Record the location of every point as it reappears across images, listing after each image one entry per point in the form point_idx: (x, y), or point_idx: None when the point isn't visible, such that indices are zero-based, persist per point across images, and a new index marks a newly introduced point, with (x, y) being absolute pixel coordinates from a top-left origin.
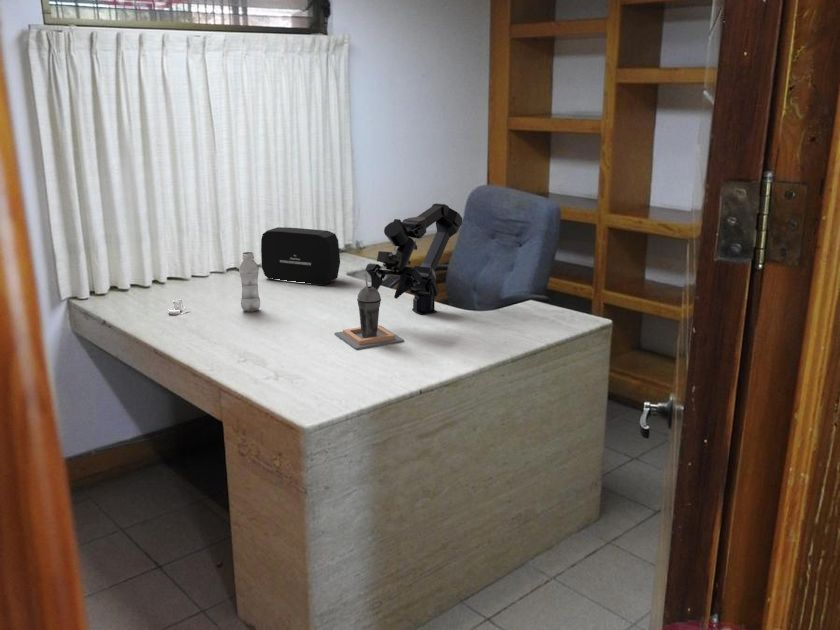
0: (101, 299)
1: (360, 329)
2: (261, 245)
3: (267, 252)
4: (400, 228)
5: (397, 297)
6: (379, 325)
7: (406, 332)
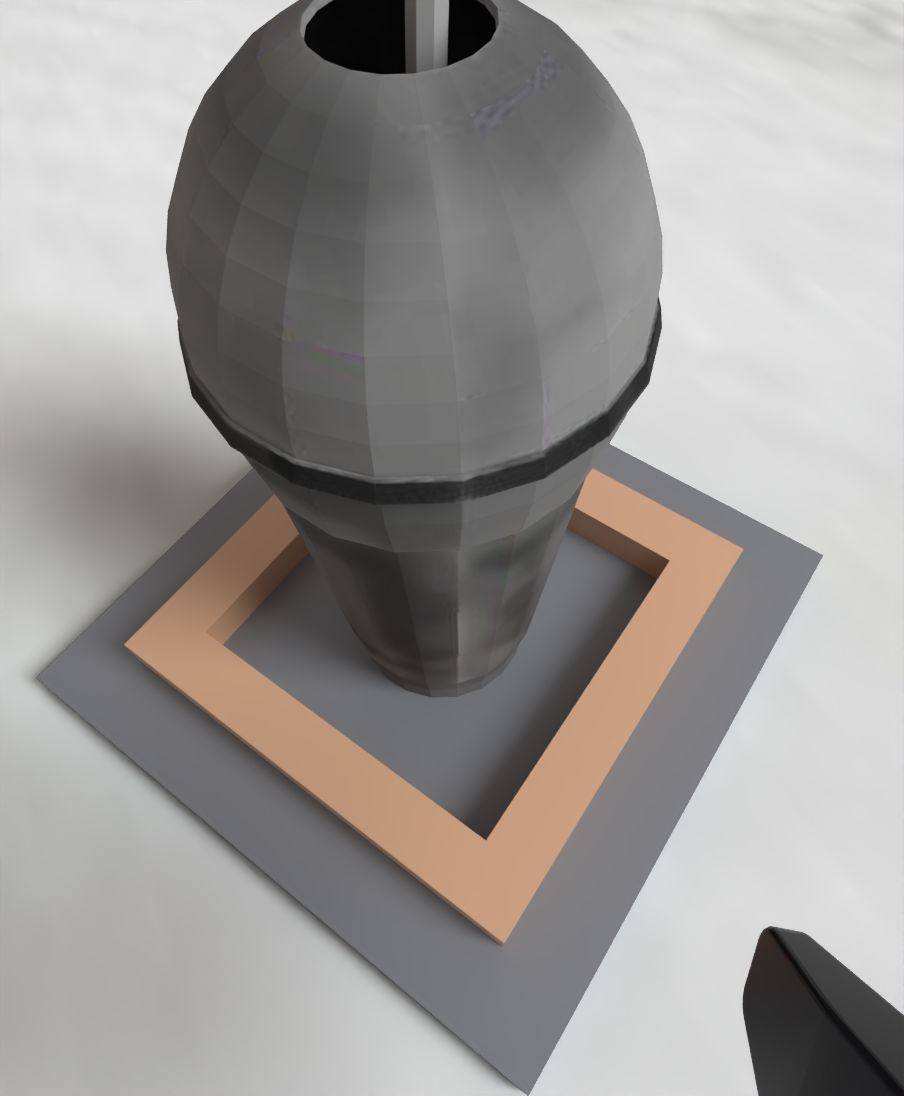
0: None
1: (599, 668)
2: None
3: None
4: None
5: None
6: (459, 906)
7: (96, 1042)
